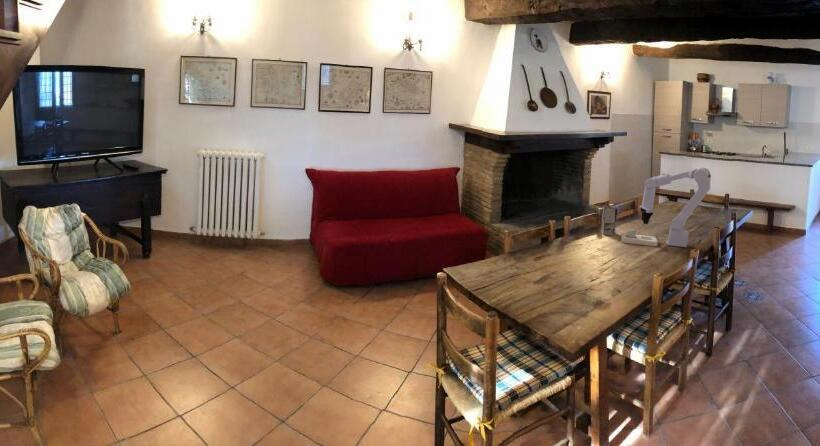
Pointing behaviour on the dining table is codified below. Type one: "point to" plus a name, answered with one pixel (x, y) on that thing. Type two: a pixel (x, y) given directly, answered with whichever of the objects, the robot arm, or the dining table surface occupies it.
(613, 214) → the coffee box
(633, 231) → the sleeve
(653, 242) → the socket block
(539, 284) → the dining table surface
